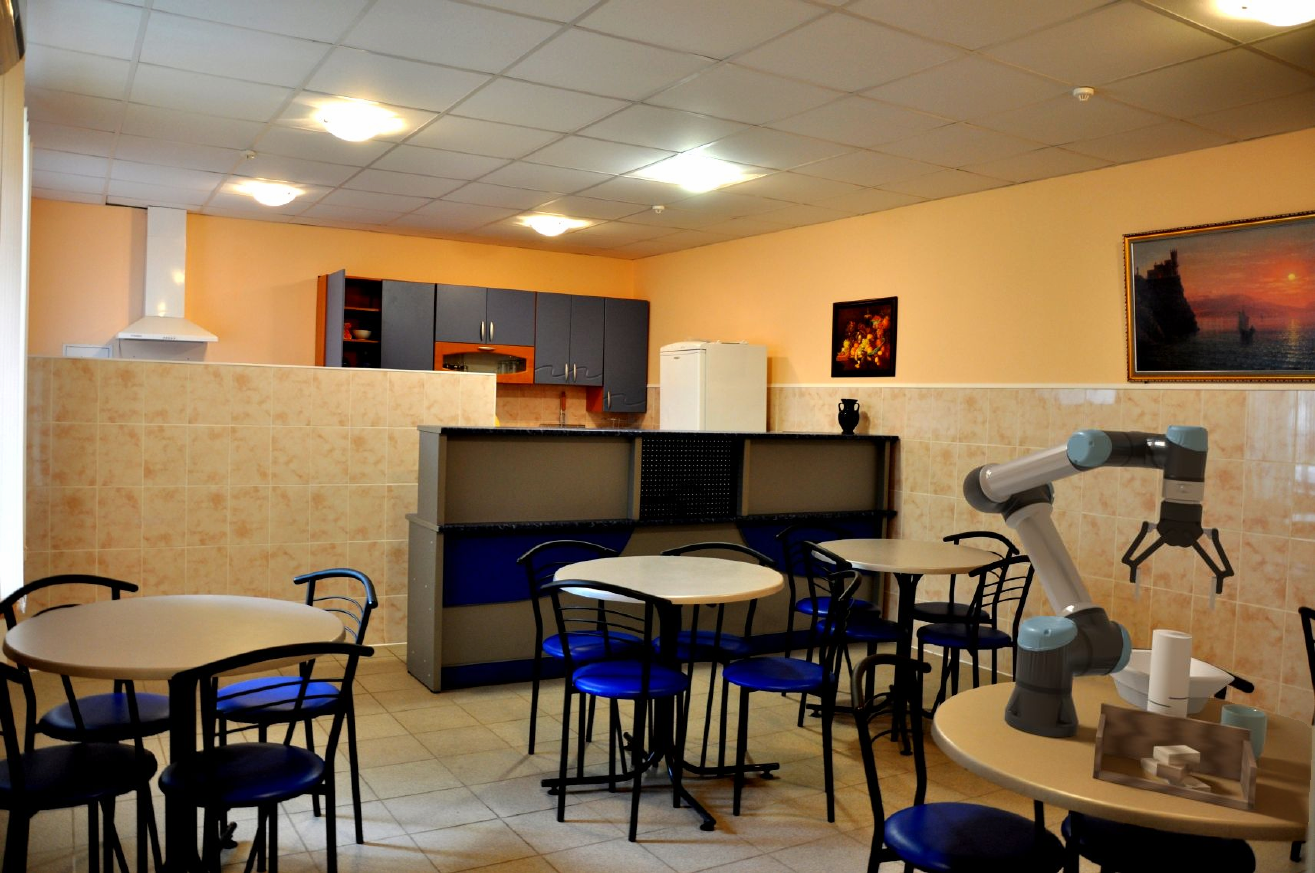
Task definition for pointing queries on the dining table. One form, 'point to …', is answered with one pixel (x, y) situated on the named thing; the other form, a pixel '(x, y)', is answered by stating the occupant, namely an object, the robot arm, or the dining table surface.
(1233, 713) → the cup
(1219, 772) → the rack
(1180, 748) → the offcut top
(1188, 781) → the offcut bottom
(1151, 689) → the cylindrical container
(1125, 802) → the dining table surface
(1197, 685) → the bowl
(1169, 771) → the offcut middle
